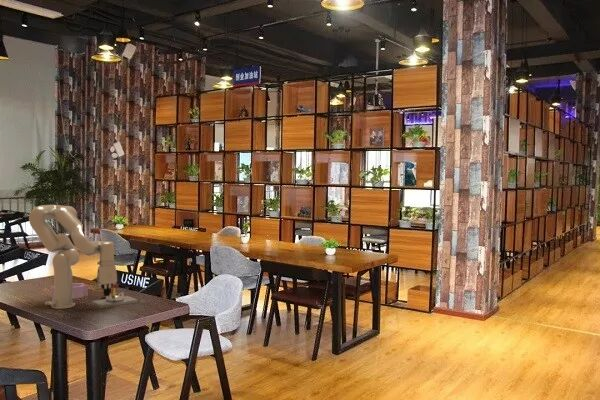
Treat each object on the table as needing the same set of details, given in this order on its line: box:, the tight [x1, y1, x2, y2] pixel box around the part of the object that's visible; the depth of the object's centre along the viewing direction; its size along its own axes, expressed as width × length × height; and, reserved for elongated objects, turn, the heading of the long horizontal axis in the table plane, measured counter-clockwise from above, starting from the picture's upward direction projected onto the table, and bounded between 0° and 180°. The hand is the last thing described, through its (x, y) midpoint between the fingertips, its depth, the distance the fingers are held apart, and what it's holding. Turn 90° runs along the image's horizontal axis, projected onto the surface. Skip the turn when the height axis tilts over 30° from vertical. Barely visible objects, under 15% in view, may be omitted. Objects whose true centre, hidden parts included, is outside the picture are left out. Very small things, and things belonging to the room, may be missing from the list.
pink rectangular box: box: [50, 282, 89, 300], centre depth 329 cm, size 20×12×7 cm, turn 130°
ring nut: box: [105, 288, 125, 302], centre depth 313 cm, size 11×14×9 cm
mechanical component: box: [100, 281, 120, 298], centre depth 327 cm, size 12×10×10 cm
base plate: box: [91, 295, 138, 309], centre depth 315 cm, size 22×13×2 cm, turn 133°
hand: (106, 295), depth 302 cm, fingers closed
